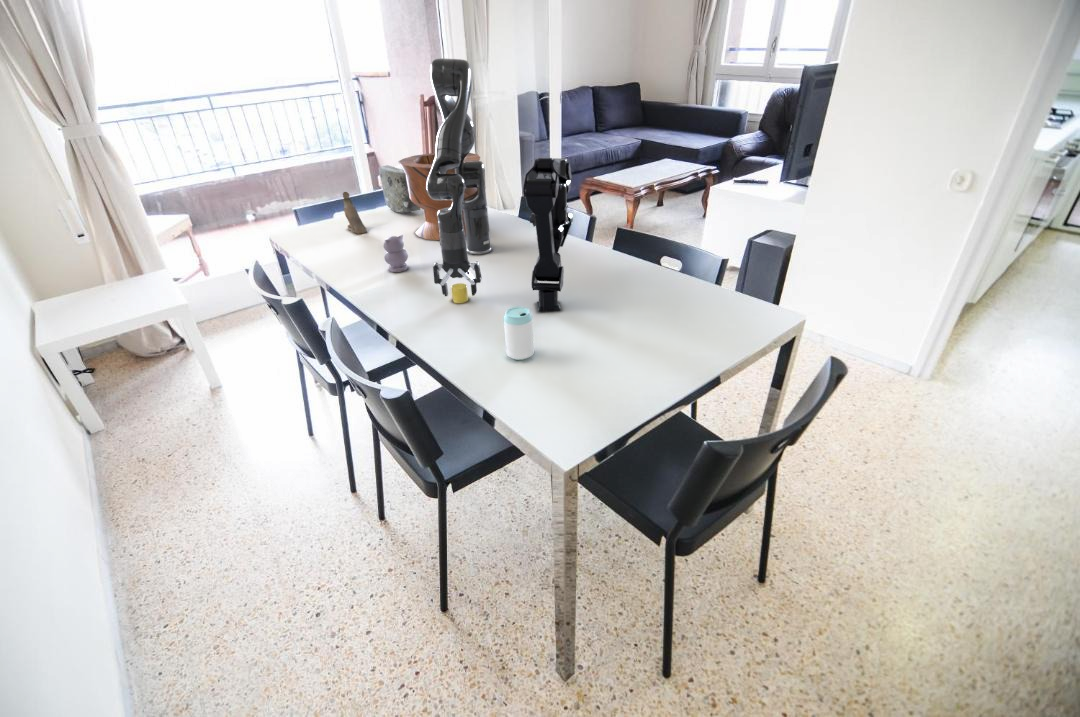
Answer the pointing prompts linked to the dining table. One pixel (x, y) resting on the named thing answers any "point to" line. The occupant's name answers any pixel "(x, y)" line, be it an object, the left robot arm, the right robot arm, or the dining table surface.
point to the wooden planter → (417, 182)
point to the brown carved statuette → (352, 216)
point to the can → (519, 333)
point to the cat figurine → (395, 253)
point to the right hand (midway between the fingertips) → (558, 251)
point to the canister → (459, 293)
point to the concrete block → (396, 189)
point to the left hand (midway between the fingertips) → (460, 295)
